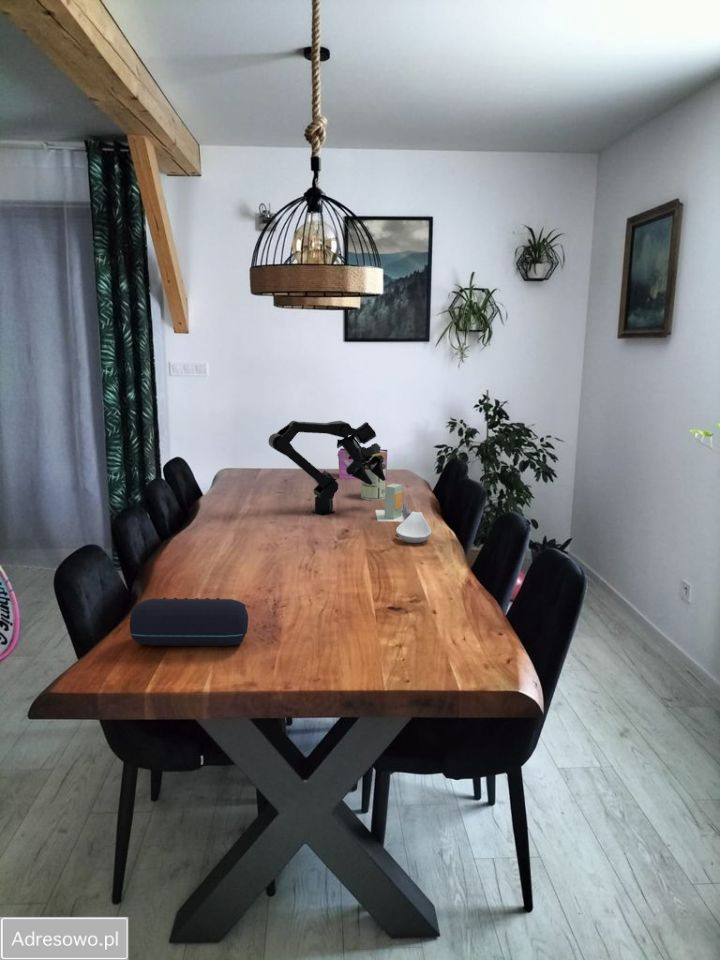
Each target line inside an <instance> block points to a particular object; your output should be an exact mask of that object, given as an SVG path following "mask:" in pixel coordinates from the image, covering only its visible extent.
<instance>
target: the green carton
mask: <svg viewBox="0 0 720 960" xmlns="http://www.w3.org/2000/svg"><path fill="white" fill-rule="evenodd" d="M402 498H403V484H398V483H391V484H390V483H389V484H388V485H385V499H384V510H385V514H384V518H389V519H396V518H398V517H401V510H403V504H402V502H403V501H402V500H403V499H402Z"/></svg>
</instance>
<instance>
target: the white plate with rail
mask: <svg viewBox="0 0 720 960" xmlns="http://www.w3.org/2000/svg"><path fill="white" fill-rule="evenodd" d="M411 513H412V512H411V509H410V508H409V505H408V503H407V502H403V504H402V509H401V517H398V518H396V519H389V518H384V514H385V509H375V515H376V520H377V522H395V523H396V522H398V523H399V522H401V523H402V522H403V521H404V520H405V519H406V518H407V517H408V516H409V515H410V514H411Z"/></svg>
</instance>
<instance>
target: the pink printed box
mask: <svg viewBox="0 0 720 960" xmlns="http://www.w3.org/2000/svg"><path fill="white" fill-rule="evenodd" d="M376 455H382V457H383V458H384V460H383V463H382V464H385V465H386V472H385V479H386V480H387V475H388V473H387V472H388V471H387V470H388V469H387V468H388V449H381V448H380V453H376V454H374V455H372V456H373V457H374V456H376ZM336 456H337V458H338V475H339V478H338V479H340V480H341V479H343V480H359V479H358V478H355V477H352V476H351V475H348V474H347V472H346V468H347V467H348V466H349V465H350V464H351V463H352V462H353V460H352V459H350V460H349V458H348V457H349V455H348V453H347V452H346V450H345V449H344V448H343V447H342V448H341V447H340V448H339V450H338V452H337V454H336ZM373 457H372V458H373ZM372 458H370V460H371V459H372Z"/></svg>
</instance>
